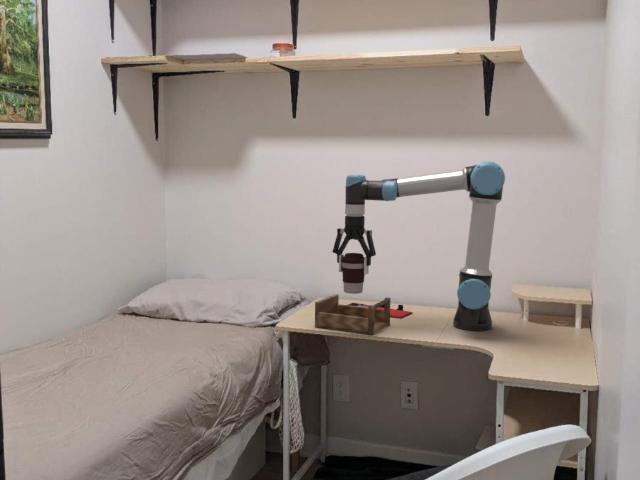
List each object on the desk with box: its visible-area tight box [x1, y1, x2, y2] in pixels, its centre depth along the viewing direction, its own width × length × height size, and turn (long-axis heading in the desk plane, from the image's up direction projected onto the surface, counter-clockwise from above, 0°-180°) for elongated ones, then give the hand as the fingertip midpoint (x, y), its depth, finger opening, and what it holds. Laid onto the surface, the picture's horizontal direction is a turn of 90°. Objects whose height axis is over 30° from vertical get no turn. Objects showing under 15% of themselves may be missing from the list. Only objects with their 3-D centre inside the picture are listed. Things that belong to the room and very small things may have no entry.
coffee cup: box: [341, 252, 366, 295], centre depth 269 cm, size 10×10×15 cm
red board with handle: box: [347, 302, 413, 320], centre depth 300 cm, size 30×3×15 cm
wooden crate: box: [314, 293, 392, 336], centre depth 271 cm, size 24×18×11 cm
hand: (353, 272), depth 269 cm, fingers closed on coffee cup, 10 cm apart
